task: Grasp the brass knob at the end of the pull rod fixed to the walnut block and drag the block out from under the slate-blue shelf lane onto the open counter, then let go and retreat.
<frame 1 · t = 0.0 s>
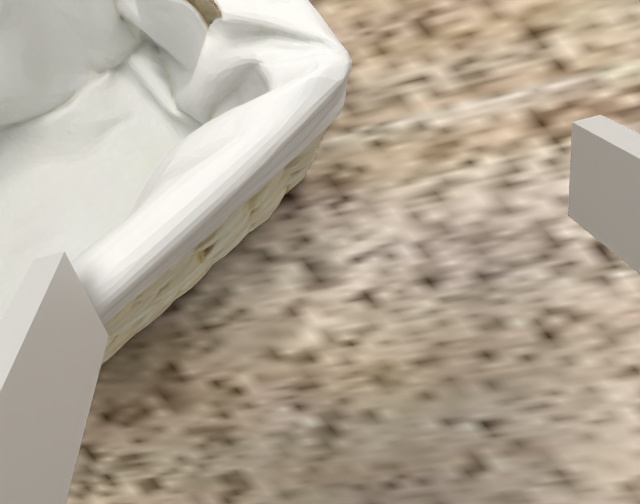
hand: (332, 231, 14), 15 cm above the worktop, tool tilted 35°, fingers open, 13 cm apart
storage basket: (82, 211, 30), on the worktop
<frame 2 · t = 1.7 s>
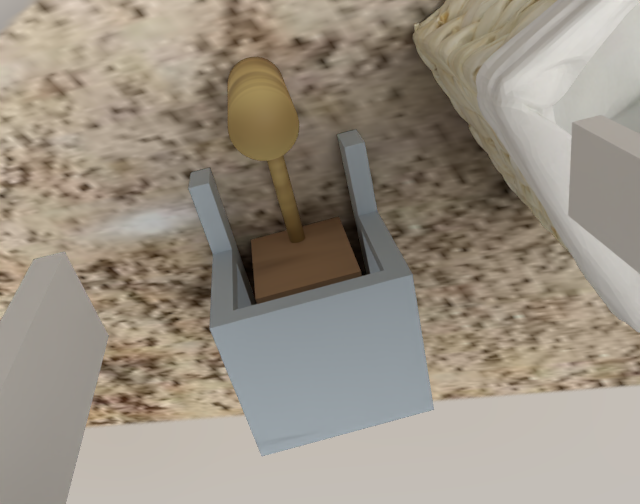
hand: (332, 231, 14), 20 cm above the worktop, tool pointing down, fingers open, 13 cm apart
shelf lane: (293, 221, 36), on the worktop
storage basket: (615, 5, 33), on the worktop
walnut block: (305, 265, 38), on the worktop
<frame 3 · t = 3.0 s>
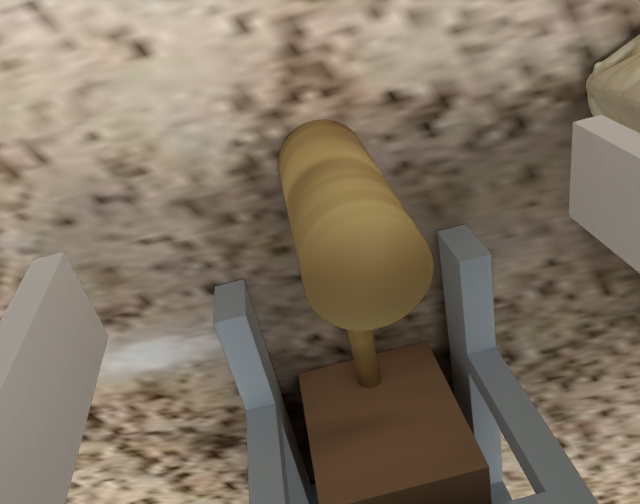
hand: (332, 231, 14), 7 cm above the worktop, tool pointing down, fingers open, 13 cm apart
shelf lane: (360, 349, 25), on the worktop
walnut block: (372, 403, 27), on the worktop
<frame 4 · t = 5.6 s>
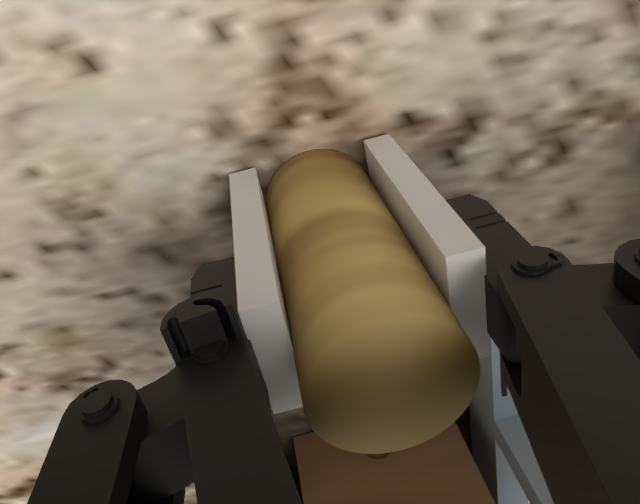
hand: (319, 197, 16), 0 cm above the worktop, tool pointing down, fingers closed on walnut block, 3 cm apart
shelf lane: (366, 406, 21), on the worktop
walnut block: (379, 465, 23), on the worktop, touching gripper
when the fingers open (0 cm above the worktop, at t = 8.9 s): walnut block stays where it is, on the worktop.
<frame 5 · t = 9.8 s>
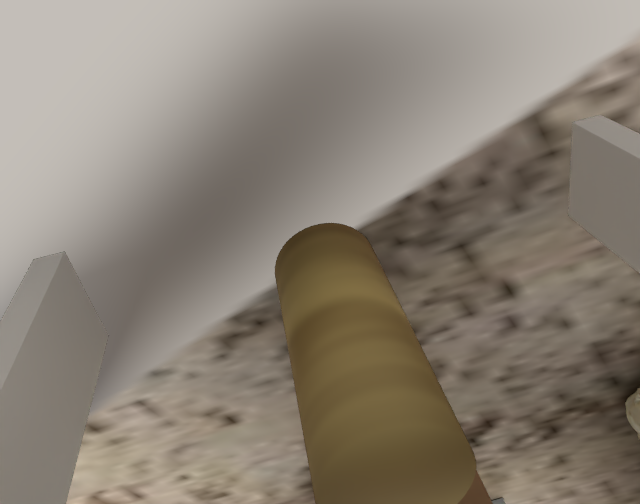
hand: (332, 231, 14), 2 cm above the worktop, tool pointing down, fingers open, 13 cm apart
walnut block: (401, 497, 24), on the worktop
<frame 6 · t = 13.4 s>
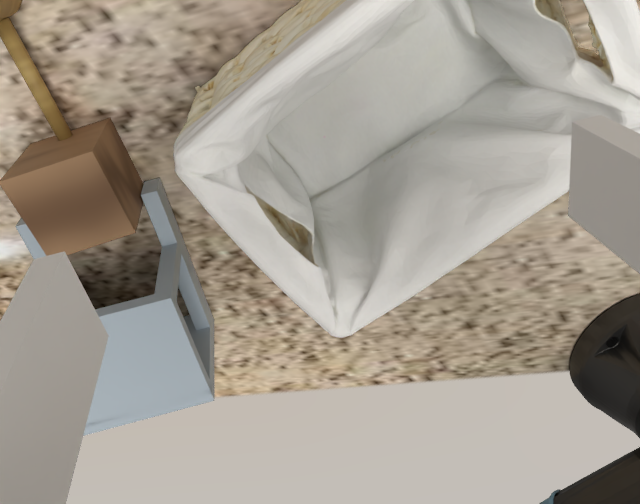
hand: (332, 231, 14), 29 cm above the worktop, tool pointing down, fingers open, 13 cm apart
shelf lane: (118, 249, 45), on the worktop
storage basket: (368, 78, 42), on the worktop
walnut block: (90, 167, 41), on the worktop
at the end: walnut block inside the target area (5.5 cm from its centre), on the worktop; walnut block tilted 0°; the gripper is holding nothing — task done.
